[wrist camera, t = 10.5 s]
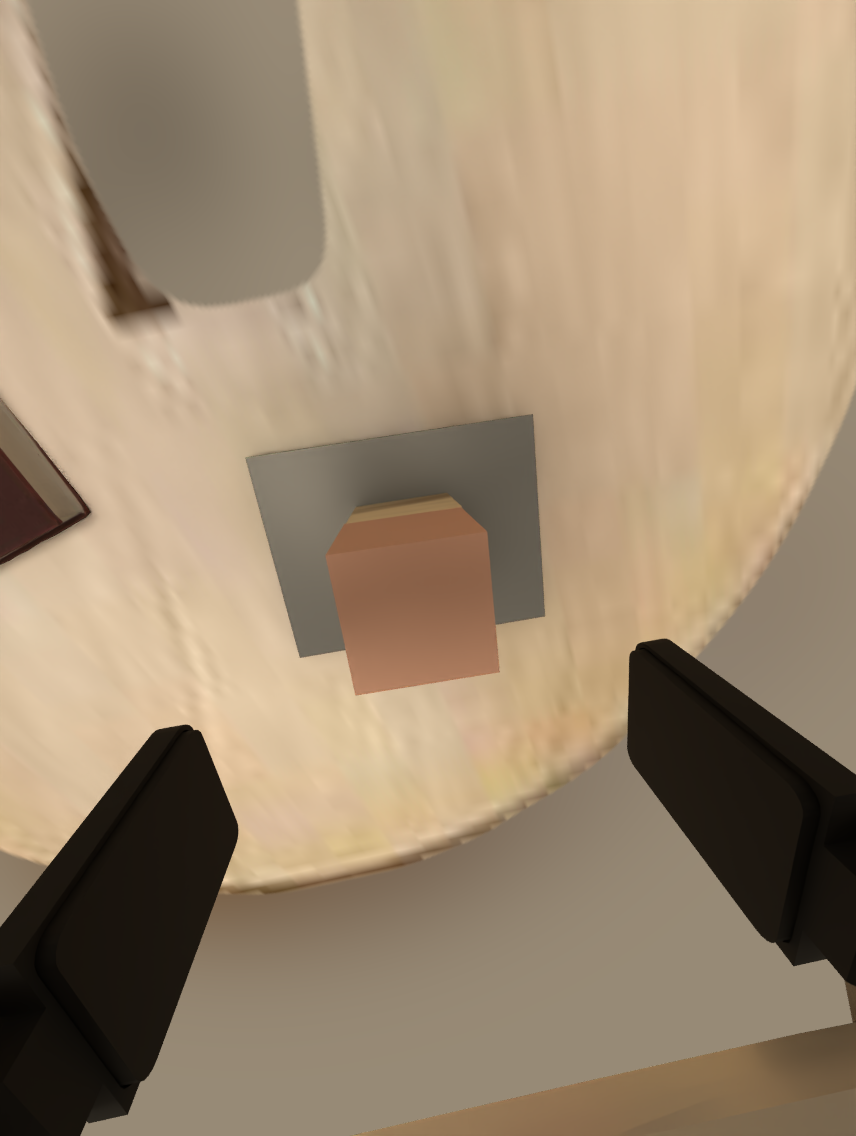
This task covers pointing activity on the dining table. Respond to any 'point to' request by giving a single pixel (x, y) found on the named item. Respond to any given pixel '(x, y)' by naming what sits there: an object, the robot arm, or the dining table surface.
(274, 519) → the plate
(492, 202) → the dining table surface
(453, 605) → the terracotta block
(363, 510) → the maple block
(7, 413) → the book
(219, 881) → the robot arm
